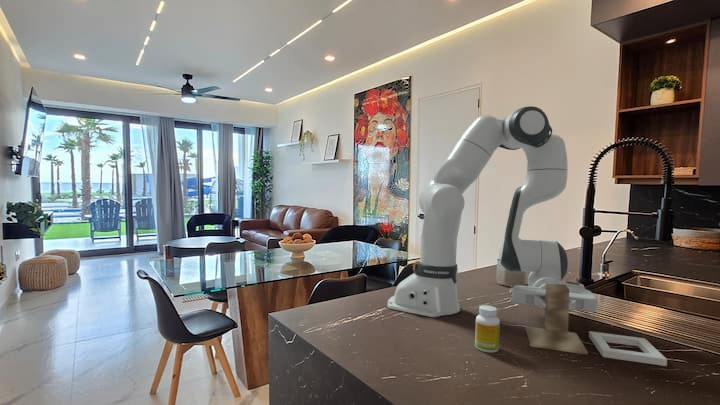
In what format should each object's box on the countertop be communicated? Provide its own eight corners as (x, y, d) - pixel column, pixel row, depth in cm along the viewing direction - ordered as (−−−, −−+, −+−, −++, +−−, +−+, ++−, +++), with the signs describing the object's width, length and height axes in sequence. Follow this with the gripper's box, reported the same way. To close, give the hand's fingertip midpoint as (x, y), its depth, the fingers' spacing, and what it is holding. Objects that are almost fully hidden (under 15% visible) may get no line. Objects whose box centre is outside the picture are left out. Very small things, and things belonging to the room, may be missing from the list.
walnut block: (547, 331, 91) (548, 287, 90) (544, 325, 95) (545, 283, 95) (567, 334, 89) (569, 289, 89) (564, 327, 94) (565, 285, 93)
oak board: (530, 346, 89) (530, 343, 89) (525, 328, 100) (525, 326, 100) (587, 354, 85) (587, 352, 85) (575, 335, 96) (575, 332, 96)
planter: (499, 287, 142) (500, 262, 142) (493, 280, 153) (494, 257, 152) (529, 288, 140) (530, 264, 140) (521, 281, 151) (522, 258, 151)
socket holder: (602, 356, 84) (603, 350, 84) (588, 336, 95) (589, 331, 95) (666, 366, 80) (667, 359, 80) (644, 344, 91) (644, 338, 91)
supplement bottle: (500, 354, 84) (502, 312, 84) (476, 351, 85) (477, 310, 85) (496, 344, 89) (498, 305, 89) (473, 342, 90) (475, 303, 90)
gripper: (509, 277, 107) (512, 290, 94) (589, 284, 101) (604, 299, 88) (508, 299, 108) (511, 314, 95) (588, 307, 101) (603, 325, 88)
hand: (557, 307), depth 91 cm, fingers closed on walnut block, 4 cm apart
